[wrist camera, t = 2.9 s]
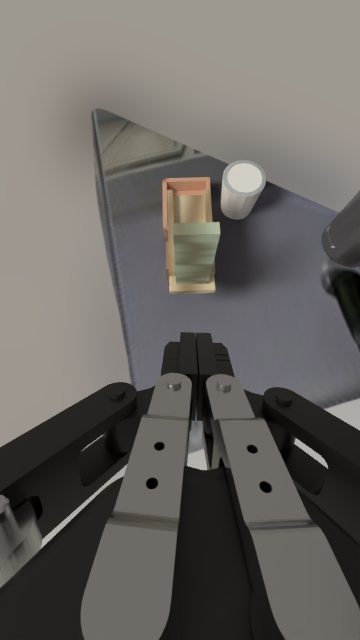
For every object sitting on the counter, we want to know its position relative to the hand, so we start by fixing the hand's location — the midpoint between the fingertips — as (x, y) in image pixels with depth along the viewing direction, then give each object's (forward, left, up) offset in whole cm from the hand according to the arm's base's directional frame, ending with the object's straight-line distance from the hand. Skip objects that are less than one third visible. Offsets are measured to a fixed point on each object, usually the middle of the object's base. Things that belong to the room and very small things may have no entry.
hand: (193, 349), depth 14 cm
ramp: (-1, -17, -21) cm, 27 cm away
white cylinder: (-10, -30, -30) cm, 44 cm away
